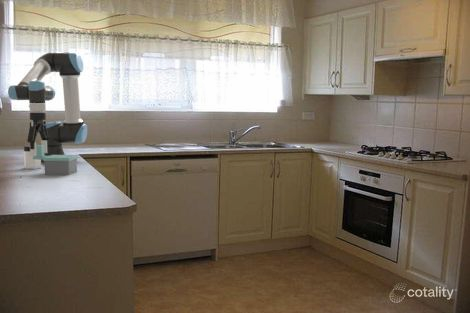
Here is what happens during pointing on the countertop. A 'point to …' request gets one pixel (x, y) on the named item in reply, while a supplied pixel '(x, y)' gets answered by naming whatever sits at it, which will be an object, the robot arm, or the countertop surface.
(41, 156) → the teal t-shaped block
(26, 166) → the jar
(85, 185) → the countertop surface
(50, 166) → the tub
